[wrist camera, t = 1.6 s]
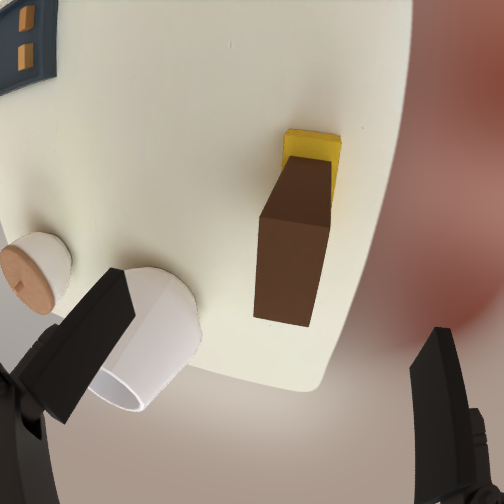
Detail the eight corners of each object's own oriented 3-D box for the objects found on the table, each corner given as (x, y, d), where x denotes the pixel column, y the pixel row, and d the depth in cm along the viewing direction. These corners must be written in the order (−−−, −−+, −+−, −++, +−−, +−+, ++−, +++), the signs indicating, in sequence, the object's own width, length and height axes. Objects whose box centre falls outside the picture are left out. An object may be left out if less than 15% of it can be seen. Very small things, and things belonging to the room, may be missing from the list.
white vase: (108, 295, 39) (51, 368, 28) (132, 229, 32) (49, 314, 20) (187, 349, 41) (146, 432, 30) (234, 298, 33) (186, 407, 22)
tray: (60, -21, 16) (47, -22, 15) (56, 76, 23) (42, 79, 21) (-12, 26, 19) (-24, 28, 18) (-12, 101, 26) (-23, 105, 24)
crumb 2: (33, 42, 20) (24, 44, 19) (33, 66, 22) (24, 68, 21) (27, 45, 21) (18, 47, 20) (27, 68, 22) (18, 70, 21)
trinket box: (82, 293, 41) (46, 335, 33) (35, 258, 40) (-2, 293, 33) (86, 243, 35) (38, 288, 27) (33, 206, 34) (-14, 241, 26)
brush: (288, 128, 22) (248, 181, 12) (340, 135, 22) (348, 196, 11) (280, 228, 27) (243, 333, 17) (324, 236, 27) (312, 346, 16)
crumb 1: (35, 5, 18) (26, 5, 17) (34, 27, 19) (25, 28, 18) (28, 9, 18) (20, 9, 17) (27, 30, 20) (18, 31, 18)
